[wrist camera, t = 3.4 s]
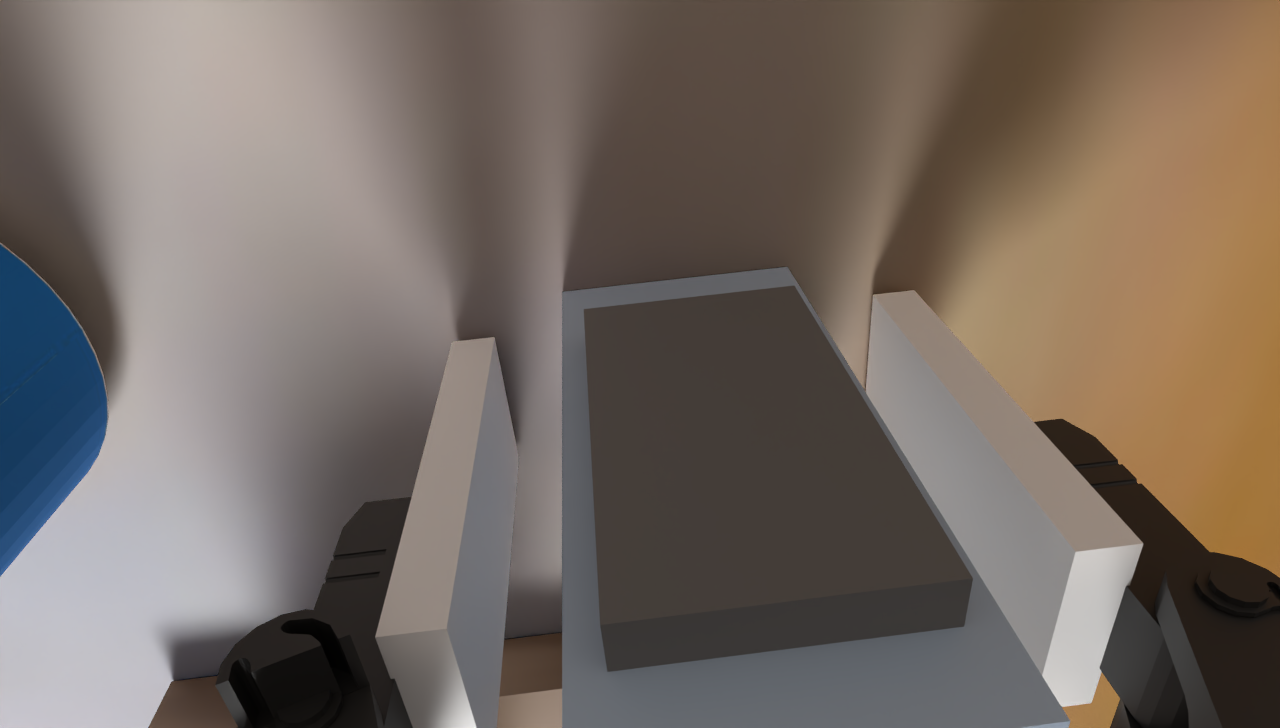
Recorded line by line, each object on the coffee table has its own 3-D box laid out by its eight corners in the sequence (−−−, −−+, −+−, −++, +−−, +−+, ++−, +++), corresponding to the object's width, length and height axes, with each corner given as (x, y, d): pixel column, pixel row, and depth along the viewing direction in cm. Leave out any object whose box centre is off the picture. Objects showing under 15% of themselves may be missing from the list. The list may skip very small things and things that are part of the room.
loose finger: (784, 447, 16) (994, 960, 8) (588, 471, 16) (613, 1014, 8) (787, 234, 14) (1085, 669, 6) (557, 260, 13) (552, 740, 6)
